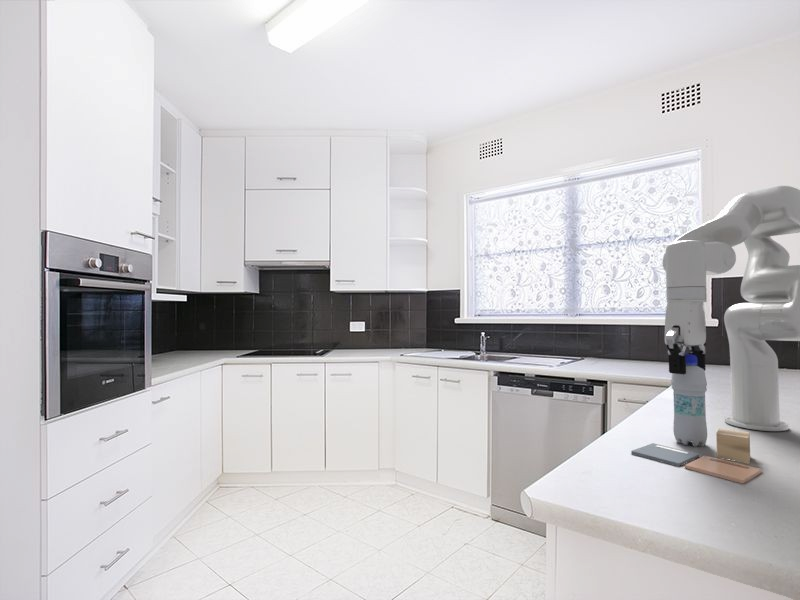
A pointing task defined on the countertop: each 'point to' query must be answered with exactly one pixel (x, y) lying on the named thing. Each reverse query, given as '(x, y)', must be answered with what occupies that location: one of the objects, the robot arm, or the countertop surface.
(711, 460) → the terracotta tile
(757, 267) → the robot arm
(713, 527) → the countertop surface
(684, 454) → the slate mat
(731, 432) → the oak block
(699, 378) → the bottle
